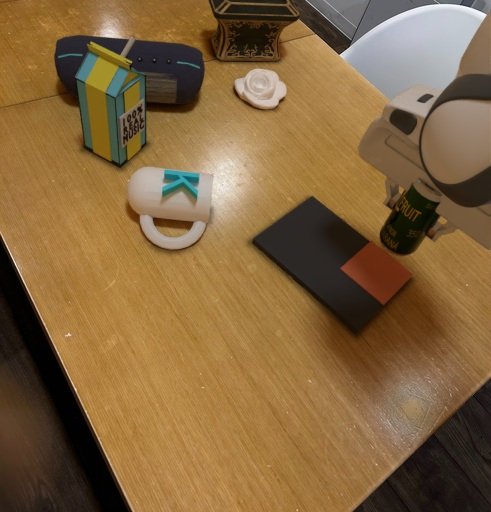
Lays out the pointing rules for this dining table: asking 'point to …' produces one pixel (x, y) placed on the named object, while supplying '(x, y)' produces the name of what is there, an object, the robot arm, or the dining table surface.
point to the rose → (261, 88)
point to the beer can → (410, 219)
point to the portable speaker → (139, 65)
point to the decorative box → (250, 28)
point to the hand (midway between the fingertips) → (410, 220)
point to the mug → (171, 202)
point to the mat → (333, 262)
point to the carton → (111, 104)
